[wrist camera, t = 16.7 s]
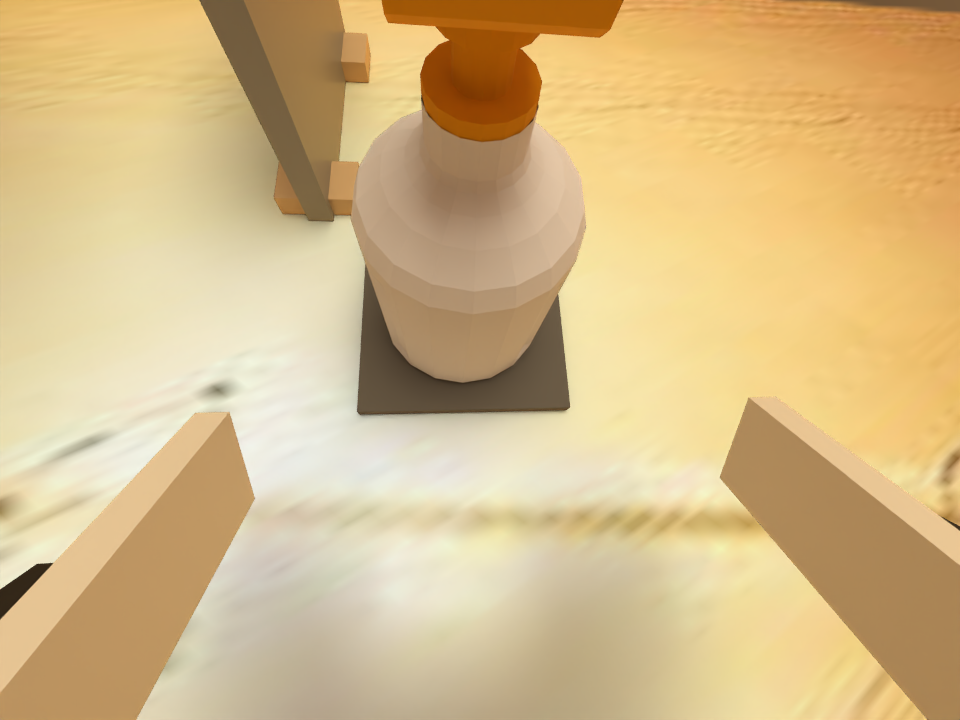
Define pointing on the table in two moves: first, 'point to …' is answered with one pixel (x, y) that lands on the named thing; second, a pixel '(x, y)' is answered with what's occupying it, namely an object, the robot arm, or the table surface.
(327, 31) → the divider
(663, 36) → the table surface
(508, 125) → the soap bottle
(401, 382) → the coaster
